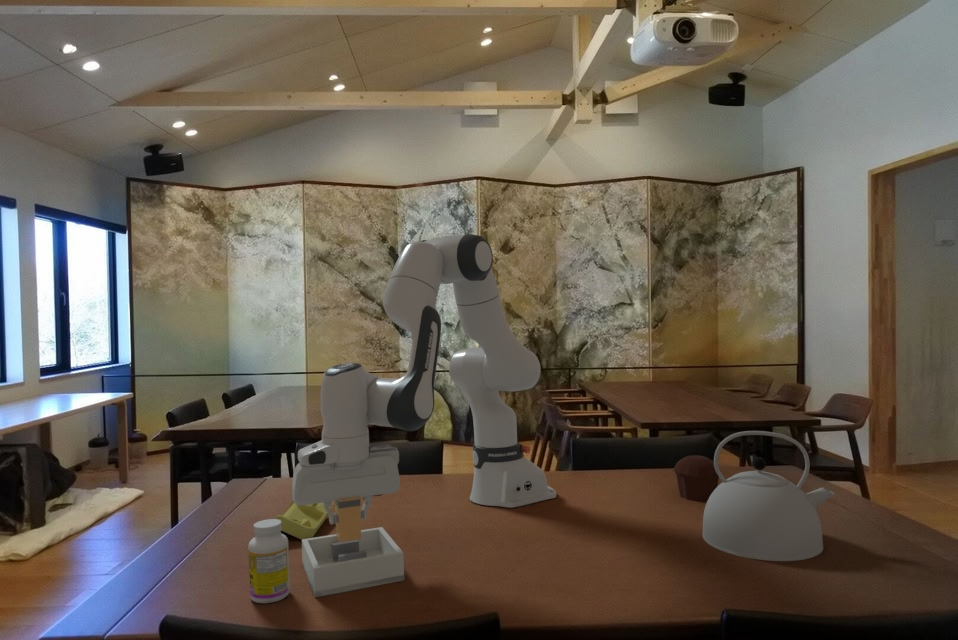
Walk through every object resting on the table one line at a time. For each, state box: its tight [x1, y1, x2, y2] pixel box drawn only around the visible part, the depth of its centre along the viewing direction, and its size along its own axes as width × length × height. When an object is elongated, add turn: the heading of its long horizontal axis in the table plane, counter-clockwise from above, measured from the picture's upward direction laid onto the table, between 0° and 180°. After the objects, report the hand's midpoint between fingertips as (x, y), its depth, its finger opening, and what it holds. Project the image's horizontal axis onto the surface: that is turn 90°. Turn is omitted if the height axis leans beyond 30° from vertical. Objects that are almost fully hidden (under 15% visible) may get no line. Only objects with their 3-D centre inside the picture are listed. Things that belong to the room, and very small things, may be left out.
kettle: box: [702, 430, 835, 562], centre depth 133 cm, size 25×23×22 cm
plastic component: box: [273, 500, 334, 541], centre depth 150 cm, size 20×7×10 cm
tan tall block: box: [334, 497, 362, 542], centre depth 124 cm, size 4×4×8 cm
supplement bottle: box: [247, 518, 291, 604], centre depth 113 cm, size 7×7×13 cm
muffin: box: [673, 454, 722, 502], centre depth 165 cm, size 12×11×10 cm
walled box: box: [301, 526, 405, 598], centre depth 123 cm, size 16×16×5 cm
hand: (348, 521), depth 124 cm, fingers closed on tan tall block, 4 cm apart
